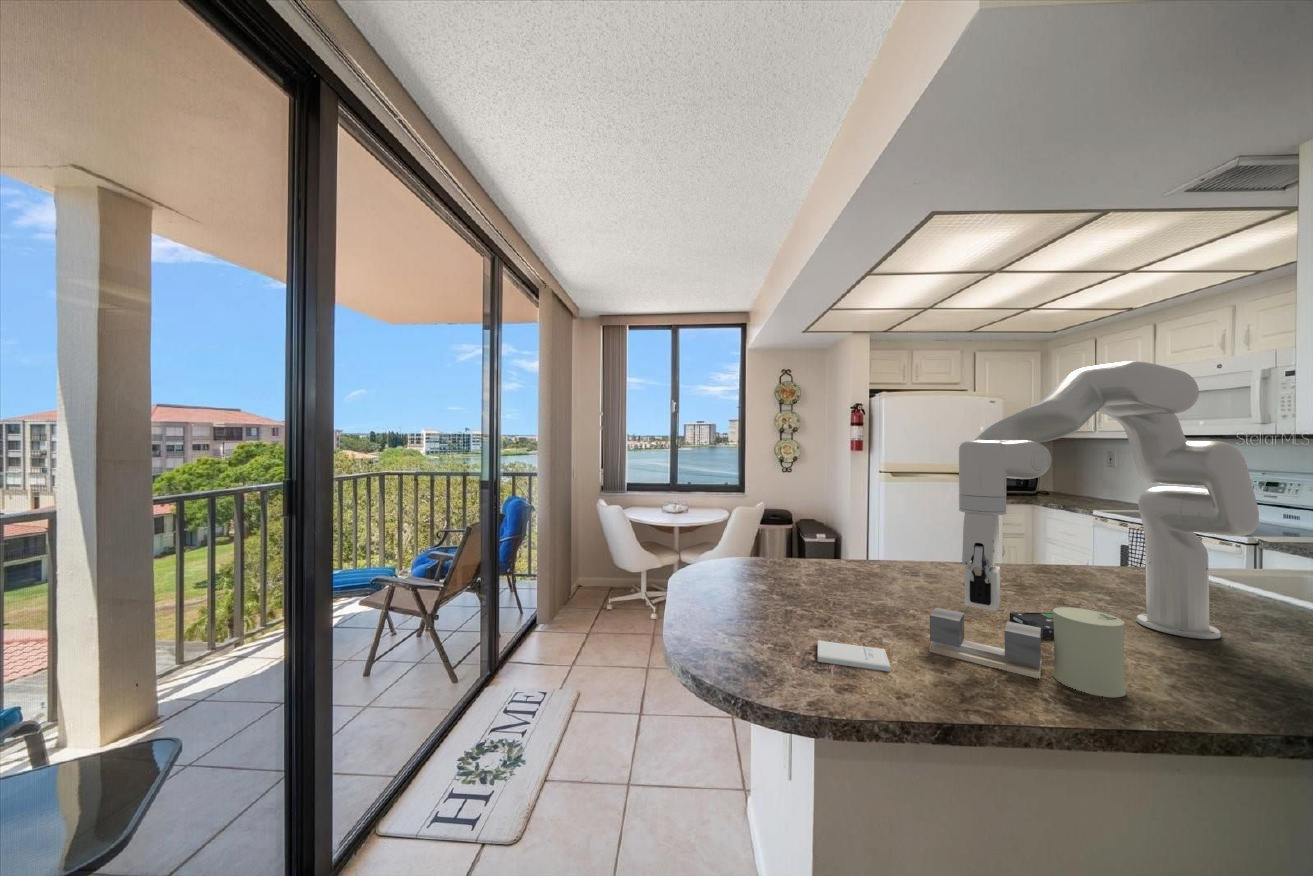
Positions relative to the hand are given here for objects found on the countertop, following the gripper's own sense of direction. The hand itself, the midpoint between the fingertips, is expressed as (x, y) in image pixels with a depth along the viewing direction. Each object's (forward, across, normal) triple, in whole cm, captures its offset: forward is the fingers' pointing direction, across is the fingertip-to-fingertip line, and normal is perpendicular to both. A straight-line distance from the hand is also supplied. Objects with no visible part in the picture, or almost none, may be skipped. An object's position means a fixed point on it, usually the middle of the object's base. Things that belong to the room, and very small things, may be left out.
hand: (982, 598), depth 91 cm
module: (+1, 0, 0) cm, 1 cm away
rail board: (+11, 0, 0) cm, 11 cm away
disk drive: (+12, -28, +11) cm, 32 cm away
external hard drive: (+12, +16, -19) cm, 28 cm away
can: (+12, 0, +15) cm, 19 cm away
